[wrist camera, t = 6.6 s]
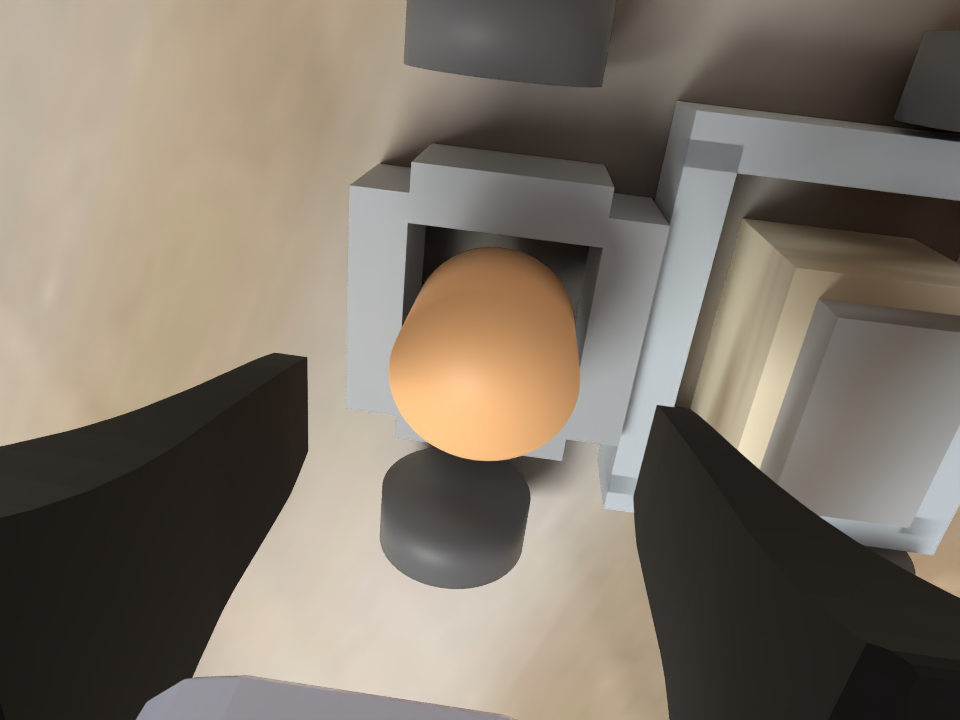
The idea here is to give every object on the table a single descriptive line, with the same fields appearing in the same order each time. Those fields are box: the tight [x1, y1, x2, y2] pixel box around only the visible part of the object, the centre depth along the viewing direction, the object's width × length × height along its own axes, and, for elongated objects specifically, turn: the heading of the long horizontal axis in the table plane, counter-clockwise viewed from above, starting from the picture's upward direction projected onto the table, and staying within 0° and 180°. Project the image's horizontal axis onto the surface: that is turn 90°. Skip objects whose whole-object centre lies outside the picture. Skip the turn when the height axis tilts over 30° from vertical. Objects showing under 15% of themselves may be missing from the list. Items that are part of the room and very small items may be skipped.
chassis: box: [345, 0, 960, 589], centre depth 17 cm, size 17×15×4 cm
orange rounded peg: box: [389, 247, 580, 461], centre depth 16 cm, size 4×4×4 cm
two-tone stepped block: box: [690, 218, 960, 528], centre depth 17 cm, size 4×6×6 cm
